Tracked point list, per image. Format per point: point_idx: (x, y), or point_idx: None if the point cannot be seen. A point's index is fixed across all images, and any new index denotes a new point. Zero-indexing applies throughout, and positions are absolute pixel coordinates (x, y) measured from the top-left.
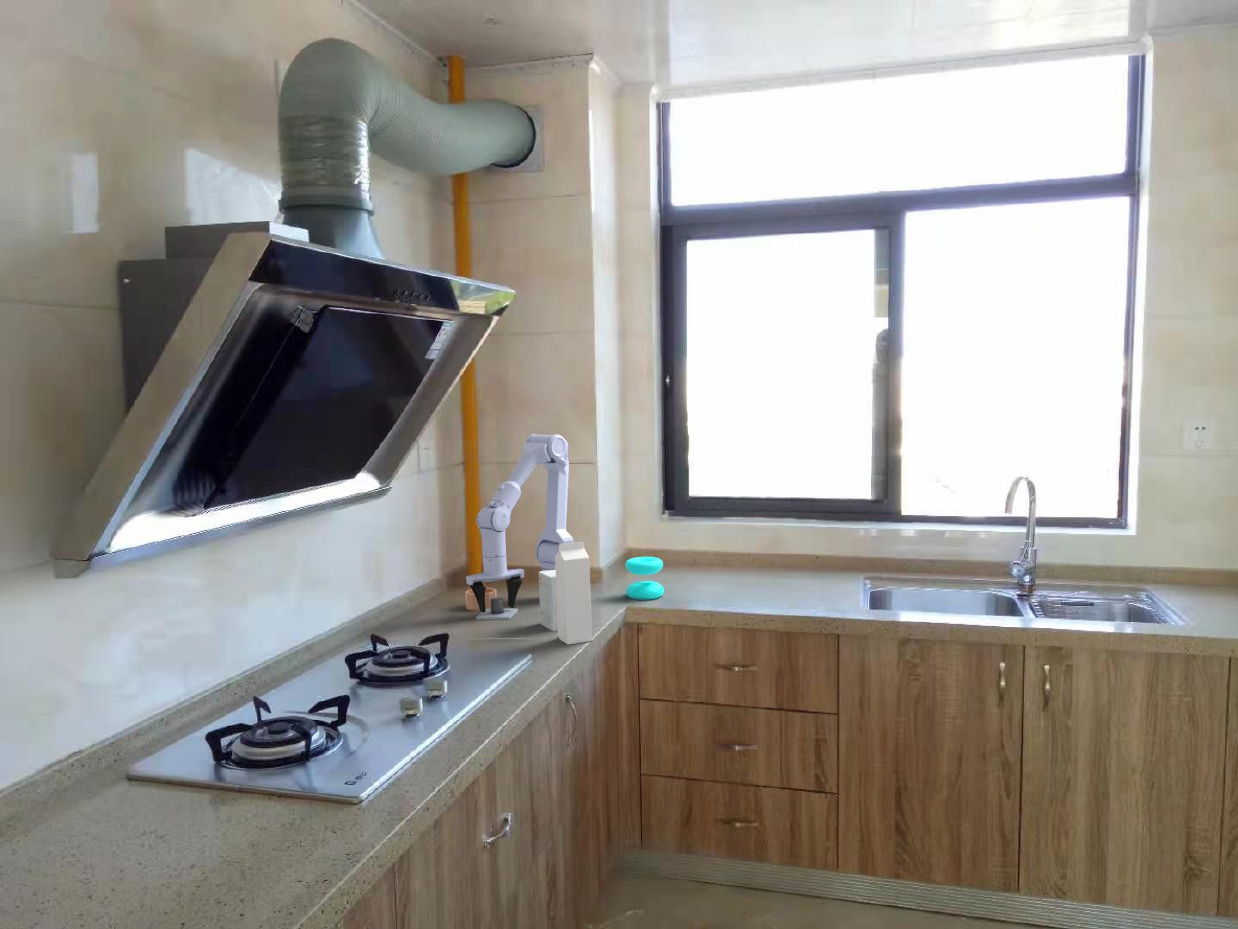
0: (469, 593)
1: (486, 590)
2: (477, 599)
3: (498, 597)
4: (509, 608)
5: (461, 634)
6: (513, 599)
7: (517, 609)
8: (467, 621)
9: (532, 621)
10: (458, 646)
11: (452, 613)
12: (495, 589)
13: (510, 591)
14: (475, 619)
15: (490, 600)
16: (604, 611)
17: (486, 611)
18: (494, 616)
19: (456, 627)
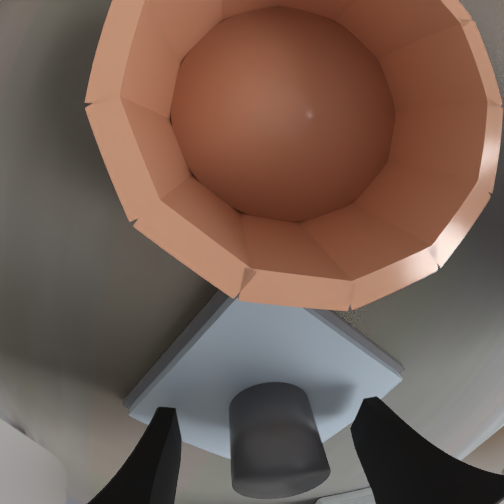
0: (117, 114)
1: (433, 16)
2: (130, 469)
3: (315, 466)
4: (378, 361)
5: (71, 466)
6: (370, 471)
7: (393, 384)
8: (90, 377)
9: (331, 474)
10: (73, 499)
11: (43, 132)
12: (497, 153)
13: (393, 493)
14: (126, 406)
15: (232, 477)
16: (494, 424)
17: (223, 358)
18: (219, 450)
19: (47, 413)
